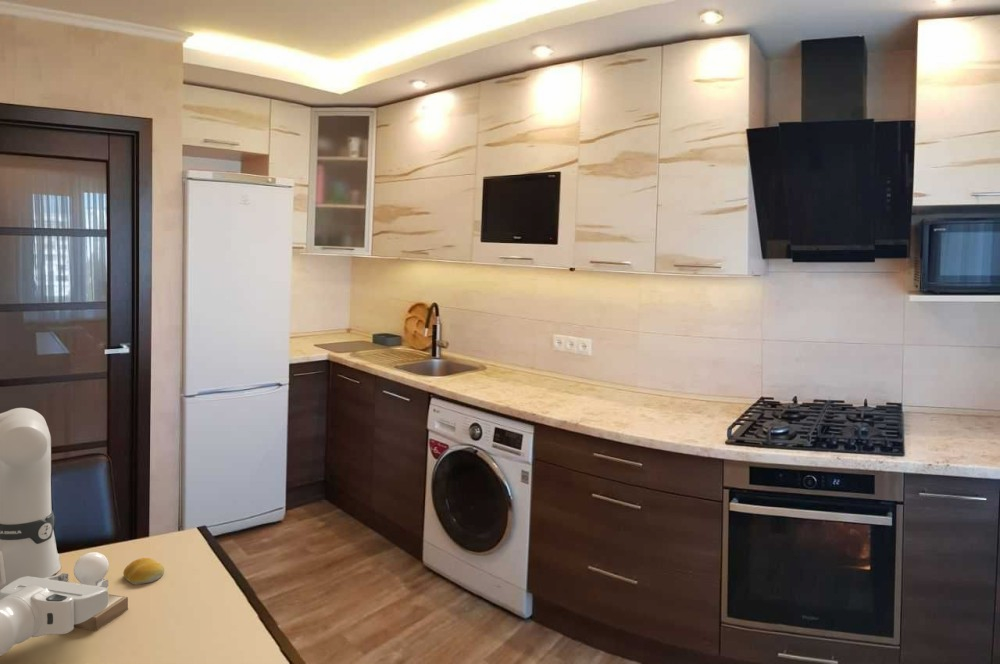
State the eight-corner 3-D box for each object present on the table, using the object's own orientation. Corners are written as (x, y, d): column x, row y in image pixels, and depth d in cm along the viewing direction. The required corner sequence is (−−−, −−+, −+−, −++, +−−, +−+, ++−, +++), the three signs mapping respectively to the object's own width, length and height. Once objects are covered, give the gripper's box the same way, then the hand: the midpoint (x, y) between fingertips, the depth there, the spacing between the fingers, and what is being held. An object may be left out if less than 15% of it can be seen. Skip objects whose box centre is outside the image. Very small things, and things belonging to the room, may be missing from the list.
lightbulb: (68, 605, 145) (66, 555, 143) (98, 593, 150) (96, 544, 149) (86, 613, 142) (84, 562, 141) (116, 600, 147) (114, 551, 146)
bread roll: (136, 589, 159) (135, 572, 159) (118, 577, 165) (118, 561, 164) (171, 577, 166) (171, 561, 166) (153, 565, 171) (153, 550, 171)
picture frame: (58, 624, 143) (58, 610, 142) (91, 604, 151) (91, 591, 151) (96, 630, 141) (96, 616, 141) (127, 609, 150) (127, 596, 150)
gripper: (-19, 619, 132) (42, 587, 145) (74, 635, 128) (128, 600, 142) (-19, 588, 131) (41, 558, 145) (74, 602, 127) (127, 570, 141)
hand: (85, 579), depth 143 cm, fingers open, 8 cm apart
